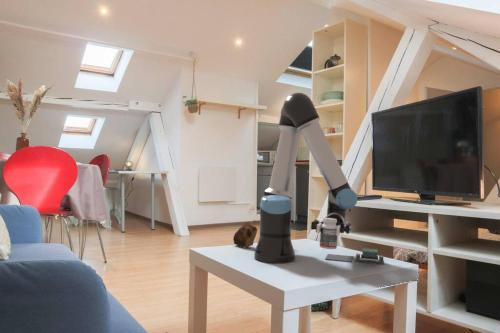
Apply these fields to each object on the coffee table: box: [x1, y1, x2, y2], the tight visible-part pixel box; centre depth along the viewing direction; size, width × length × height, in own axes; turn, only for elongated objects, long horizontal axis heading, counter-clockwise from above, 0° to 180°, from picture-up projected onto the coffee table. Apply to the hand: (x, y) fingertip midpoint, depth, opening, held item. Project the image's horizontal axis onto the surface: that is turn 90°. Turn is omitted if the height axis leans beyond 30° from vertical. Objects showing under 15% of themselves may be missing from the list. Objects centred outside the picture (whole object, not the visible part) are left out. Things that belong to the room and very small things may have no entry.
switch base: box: [355, 253, 385, 266], centre depth 140 cm, size 10×4×3 cm, turn 72°
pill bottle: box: [319, 217, 339, 250], centre depth 127 cm, size 6×6×10 cm
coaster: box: [324, 253, 354, 263], centre depth 145 cm, size 10×10×1 cm
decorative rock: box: [232, 221, 258, 248], centre depth 164 cm, size 12×6×11 cm, turn 37°
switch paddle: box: [360, 247, 379, 260], centre depth 135 cm, size 6×1×12 cm
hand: (327, 230), depth 122 cm, fingers closed on pill bottle, 6 cm apart
